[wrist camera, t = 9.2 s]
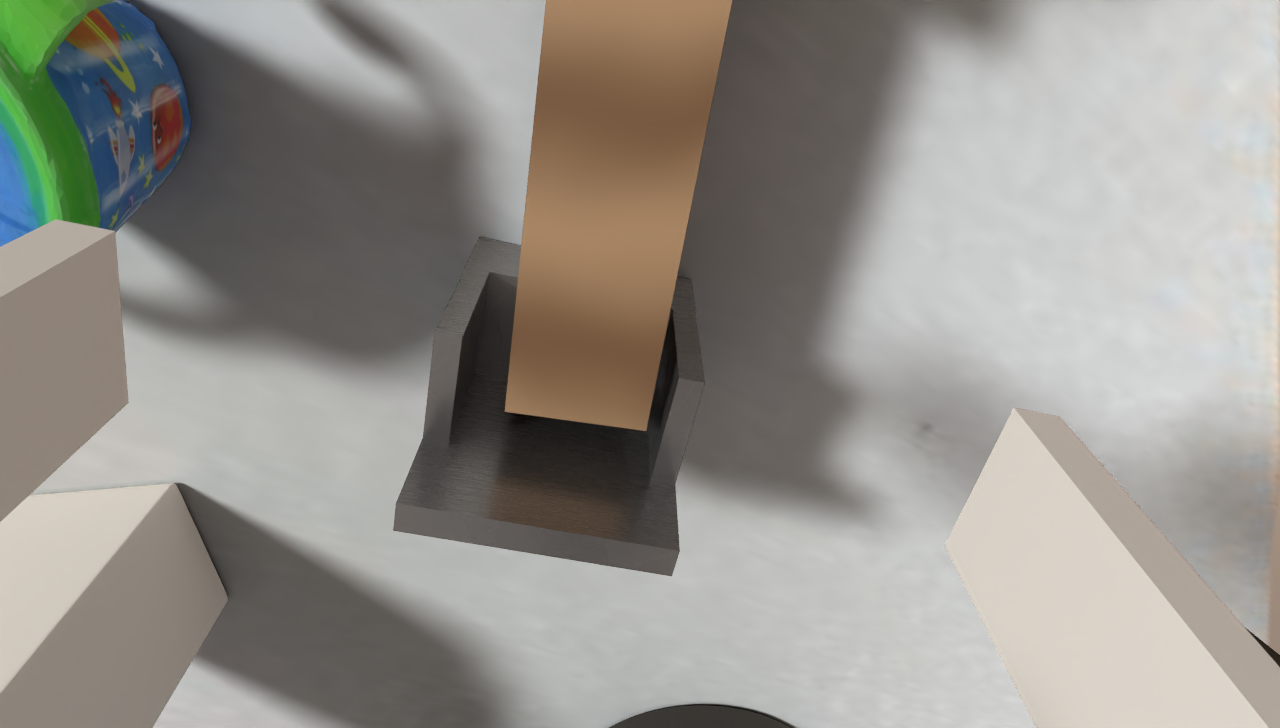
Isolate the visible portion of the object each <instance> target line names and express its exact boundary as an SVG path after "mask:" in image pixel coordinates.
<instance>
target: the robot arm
mask: <svg viewBox="0 0 1280 728" xmlns="http://www.w3.org/2000/svg"><path fill="white" fill-rule="evenodd" d="M128 403H129V402H128V390H127V377H126V364H125V352H124V339H123V326H122V313H121V301H120V288H119V275H118V262H117V250H116V237H115V231H112V230H107V229H102V228H97V227H92V226H87V225H82V224H77V223H72V222H67V221H62V220H56V219H55V220H53V221H51V222H49V223H47V224H45V225H43V226H41V227H39V228H37V229H35V230H33V231H31V232H29V233H27V234H25V235H23V236H21V237H19V238H17V239H15V240H13V241H11V242H9V243H7V244H5V245H3V246H1V247H0V522H1V521H2V520H3V519H4V518H5V517H6V516H7V515H9V514H10V513H11V512H12V511H13V510H14V509H15V508H16V507H17V506H18V505H19V504H20V503H21V502H22V501H24V500H25V499H26V498H27V497H28V496H29V495H30V494H31V493H32V492H33V491H34V490H35V489H36V488H37V487H39V486H40V485H41V484H42V483H43V482H44V481H45V480H46V479H47V478H48V477H49V476H50V475H51V474H52V473H54V472H55V471H56V470H57V469H58V468H59V467H60V466H61V465H62V464H63V463H64V462H65V461H66V460H67V459H69V458H70V457H71V456H72V455H73V454H74V453H75V452H76V451H77V450H78V449H79V448H80V447H81V446H82V445H84V444H85V443H86V442H87V441H88V440H89V439H90V438H91V437H92V436H93V435H94V434H95V433H96V432H98V431H99V430H100V429H101V428H102V427H103V426H104V425H105V424H106V423H107V422H108V421H109V420H110V419H111V418H113V417H114V416H115V415H116V414H117V413H118V412H119V411H120V410H121V409H122V408H123V407H124V406H125V405H126V404H128ZM945 548H946V550H947V552H948V554H949V556H950V558H951V560H952V562H953V564H954V566H955V568H956V570H957V572H958V574H959V576H960V578H961V580H962V582H963V584H964V586H965V588H966V590H967V592H968V594H969V596H970V598H971V600H972V602H973V604H974V606H975V608H976V610H977V612H978V613H979V615H980V617H981V619H982V621H983V623H984V625H985V627H986V629H987V631H988V633H989V635H990V637H991V639H992V641H993V643H994V645H995V647H996V649H997V651H998V653H999V655H1000V657H1001V659H1002V661H1003V663H1004V665H1005V667H1006V669H1007V671H1008V673H1009V675H1010V677H1011V679H1012V681H1013V683H1014V685H1015V687H1016V689H1017V691H1018V693H1019V695H1020V697H1021V699H1022V701H1023V703H1024V705H1025V707H1026V709H1027V711H1028V713H1029V715H1030V716H1031V718H1032V720H1033V722H1034V724H1035V726H1036V728H1280V655H1279V654H1278V653H1276V652H1275V651H1274V650H1273V649H1271V648H1270V647H1269V646H1268V645H1266V644H1265V643H1264V642H1263V641H1261V640H1260V639H1259V638H1258V637H1256V636H1255V635H1254V634H1252V633H1251V632H1250V631H1249V630H1247V629H1246V628H1245V627H1244V626H1243V625H1242V624H1241V622H1240V621H1239V620H1238V619H1237V618H1236V617H1235V616H1234V614H1233V613H1232V612H1231V611H1230V610H1229V609H1228V608H1227V607H1226V605H1225V604H1224V603H1223V602H1222V601H1221V600H1220V599H1219V597H1218V596H1217V595H1216V594H1215V593H1214V592H1213V591H1212V589H1211V588H1210V587H1209V586H1208V585H1207V584H1206V583H1205V581H1204V580H1203V579H1202V578H1201V577H1200V576H1199V575H1198V573H1197V572H1196V571H1195V570H1194V569H1193V568H1192V567H1191V565H1190V564H1189V563H1188V562H1187V561H1186V560H1185V559H1184V557H1183V556H1182V555H1181V554H1180V553H1179V552H1178V551H1177V550H1176V548H1175V547H1174V546H1173V545H1172V544H1171V543H1170V542H1169V540H1168V539H1167V538H1166V537H1165V536H1164V535H1163V534H1162V532H1161V531H1160V530H1159V529H1158V528H1157V527H1156V526H1155V524H1154V523H1153V522H1152V521H1151V520H1150V519H1149V518H1148V516H1147V515H1146V514H1145V513H1144V512H1143V511H1142V510H1141V508H1140V507H1139V506H1138V505H1137V504H1136V503H1135V502H1134V500H1133V499H1132V498H1131V497H1130V496H1129V495H1128V494H1127V493H1126V491H1125V490H1124V489H1123V488H1122V487H1121V486H1120V485H1119V483H1118V482H1117V481H1116V480H1115V479H1114V478H1113V477H1112V475H1111V474H1110V473H1109V472H1108V471H1107V470H1106V469H1105V467H1104V466H1103V465H1102V464H1101V463H1100V462H1099V461H1098V459H1097V458H1096V457H1095V456H1094V455H1093V454H1092V453H1091V451H1090V450H1089V449H1088V448H1087V447H1086V446H1085V445H1084V443H1083V442H1082V441H1081V440H1080V439H1079V438H1078V437H1077V436H1076V434H1075V433H1074V432H1073V431H1072V430H1071V429H1070V428H1069V426H1068V425H1067V424H1066V423H1065V422H1064V421H1063V420H1062V418H1061V417H1059V416H1053V415H1048V414H1043V413H1038V412H1033V411H1028V410H1023V409H1018V408H1013V410H1012V412H1011V414H1010V416H1009V418H1008V420H1007V422H1006V424H1005V426H1004V428H1003V430H1002V432H1001V434H1000V436H999V438H998V440H997V442H996V444H995V446H994V448H993V450H992V452H991V454H990V456H989V458H988V460H987V462H986V464H985V466H984V468H983V470H982V472H981V474H980V476H979V478H978V480H977V482H976V484H975V486H974V488H973V490H972V492H971V494H970V496H969V498H968V500H967V502H966V504H965V506H964V508H963V510H962V512H961V514H960V516H959V518H958V520H957V522H956V524H955V526H954V528H953V530H952V532H951V534H950V536H949V538H948V540H947V542H946V544H945ZM609 728H790V727H788V726H786V725H784V724H783V723H781V722H779V721H776V720H774V719H772V718H769V717H766V716H764V715H761V714H758V713H754V712H751V711H746V710H742V709H736V708H731V707H722V706H706V705H696V706H680V707H672V708H665V709H660V710H655V711H651V712H647V713H643V714H640V715H637V716H634V717H631V718H629V719H626V720H624V721H622V722H619V723H617V724H615V725H613V726H611V727H609Z"/></svg>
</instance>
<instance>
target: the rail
mask: <svg viewBox="0 0 1280 728" xmlns="http://www.w3.org/2000/svg"><path fill="white" fill-rule="evenodd" d="M731 4H732V0H546V6H545V16H544V26H543V36H542V46H541V56H540V66H539V76H538V85H537V95H536V105H535V115H534V125H533V135H532V145H531V155H530V165H529V175H528V185H527V195H526V205H525V215H524V224H523V234H522V244H521V254H520V264H519V274H518V284H517V294H516V304H515V314H514V324H513V334H512V344H511V354H510V363H509V373H508V383H507V393H506V403H505V412H510V413H518V414H525V415H532V416H540V417H547V418H554V419H562V420H569V421H576V422H584V423H591V424H598V425H606V426H613V427H620V428H628V429H635V430H642V431H646V429H647V424H648V419H649V414H650V409H651V404H652V399H653V394H654V389H655V384H656V379H657V374H658V369H659V364H660V359H661V354H662V349H663V344H664V339H665V334H666V329H667V324H668V319H669V314H670V309H671V304H672V299H673V294H674V289H675V284H676V279H677V274H678V269H679V264H680V259H681V254H682V249H683V244H684V239H685V234H686V229H687V224H688V219H689V214H690V209H691V204H692V199H693V194H694V189H695V184H696V179H697V174H698V169H699V164H700V159H701V154H702V149H703V144H704V139H705V134H706V129H707V124H708V119H709V114H710V109H711V104H712V99H713V94H714V89H715V84H716V79H717V74H718V69H719V64H720V59H721V54H722V49H723V44H724V39H725V34H726V29H727V24H728V19H729V14H730V9H731Z"/></svg>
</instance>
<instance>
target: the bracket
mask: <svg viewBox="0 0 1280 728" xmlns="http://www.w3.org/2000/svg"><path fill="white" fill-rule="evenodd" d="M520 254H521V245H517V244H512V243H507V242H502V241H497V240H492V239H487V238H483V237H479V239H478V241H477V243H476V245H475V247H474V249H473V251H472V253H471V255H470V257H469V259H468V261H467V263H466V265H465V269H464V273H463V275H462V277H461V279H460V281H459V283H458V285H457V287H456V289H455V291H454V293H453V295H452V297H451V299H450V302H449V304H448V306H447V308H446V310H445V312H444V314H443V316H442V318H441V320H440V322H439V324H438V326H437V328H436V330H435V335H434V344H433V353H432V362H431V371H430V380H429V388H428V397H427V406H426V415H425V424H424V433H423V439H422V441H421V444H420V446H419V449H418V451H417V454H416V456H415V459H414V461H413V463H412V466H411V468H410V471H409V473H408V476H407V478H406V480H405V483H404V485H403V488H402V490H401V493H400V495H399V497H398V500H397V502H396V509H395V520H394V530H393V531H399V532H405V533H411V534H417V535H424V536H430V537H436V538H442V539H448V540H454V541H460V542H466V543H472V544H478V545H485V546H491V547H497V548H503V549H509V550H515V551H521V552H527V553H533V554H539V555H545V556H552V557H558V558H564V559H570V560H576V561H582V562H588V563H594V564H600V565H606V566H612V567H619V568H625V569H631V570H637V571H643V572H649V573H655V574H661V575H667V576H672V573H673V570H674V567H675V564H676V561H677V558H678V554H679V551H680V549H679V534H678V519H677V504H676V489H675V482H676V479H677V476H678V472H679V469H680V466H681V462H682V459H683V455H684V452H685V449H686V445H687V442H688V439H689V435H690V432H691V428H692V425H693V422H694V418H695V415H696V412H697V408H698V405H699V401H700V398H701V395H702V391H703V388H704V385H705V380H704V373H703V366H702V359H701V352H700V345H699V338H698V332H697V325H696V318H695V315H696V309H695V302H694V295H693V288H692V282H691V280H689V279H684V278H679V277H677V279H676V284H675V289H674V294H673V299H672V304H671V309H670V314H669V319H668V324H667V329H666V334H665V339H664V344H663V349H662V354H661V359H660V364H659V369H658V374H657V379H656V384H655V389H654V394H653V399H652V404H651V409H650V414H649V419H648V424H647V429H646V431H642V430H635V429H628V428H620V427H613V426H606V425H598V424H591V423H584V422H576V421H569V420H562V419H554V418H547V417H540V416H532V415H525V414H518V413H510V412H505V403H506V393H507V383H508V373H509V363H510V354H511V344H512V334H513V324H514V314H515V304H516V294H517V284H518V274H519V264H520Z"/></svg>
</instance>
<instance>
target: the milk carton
mask: <svg viewBox="0 0 1280 728" xmlns="http://www.w3.org/2000/svg"><path fill="white" fill-rule="evenodd" d="M227 601H228V597H227V594H226V592H225V589H224V587H223V585H222V583H221V580H220V578H219V576H218V574H217V572H216V570H215V567H214V565H213V563H212V561H211V559H210V556H209V554H208V552H207V550H206V548H205V546H204V543H203V541H202V539H201V537H200V535H199V533H198V530H197V528H196V526H195V524H194V522H193V519H192V517H191V515H190V513H189V511H188V509H187V506H186V504H185V502H184V500H183V498H182V496H181V493H180V491H179V489H178V488H177V486H176V484H174V483H168V484H156V485H144V486H132V487H121V488H109V489H97V490H85V491H74V492H62V493H51V494H39V495H29V496H28V497H27V498H26V499H25V500H24V501H22V502H21V503H20V504H19V505H18V506H17V507H16V508H15V509H14V510H13V511H12V512H11V513H10V514H9V515H7V516H6V517H5V518H4V519H3V520H2V521H1V522H0V728H152V727H153V726H154V724H155V722H156V721H157V719H158V717H159V716H160V714H161V712H162V711H163V709H164V707H165V705H166V704H167V702H168V700H169V699H170V697H171V695H172V694H173V692H174V690H175V689H176V687H177V685H178V684H179V682H180V680H181V679H182V677H183V675H184V674H185V672H186V670H187V669H188V667H189V665H190V664H191V662H192V660H193V659H194V657H195V655H196V654H197V652H198V650H199V649H200V647H201V645H202V644H203V642H204V640H205V639H206V637H207V635H208V633H209V632H210V630H211V628H212V627H213V625H214V623H215V622H216V620H217V618H218V617H219V615H220V613H221V612H222V610H223V608H224V607H225V605H226V603H227Z"/></svg>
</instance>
